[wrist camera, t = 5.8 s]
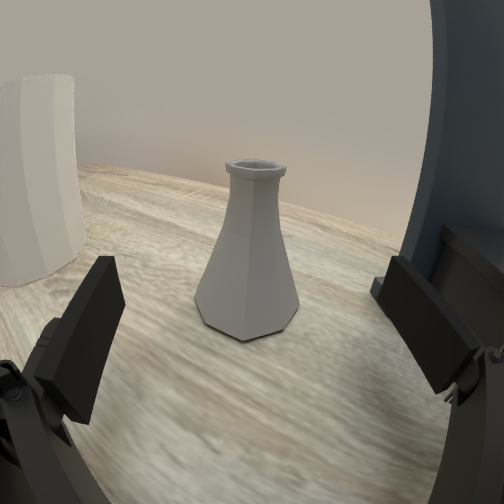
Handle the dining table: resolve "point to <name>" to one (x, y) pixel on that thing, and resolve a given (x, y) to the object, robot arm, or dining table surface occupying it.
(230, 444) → the dining table surface
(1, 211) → the container
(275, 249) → the flask
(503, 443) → the robot arm
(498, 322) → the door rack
